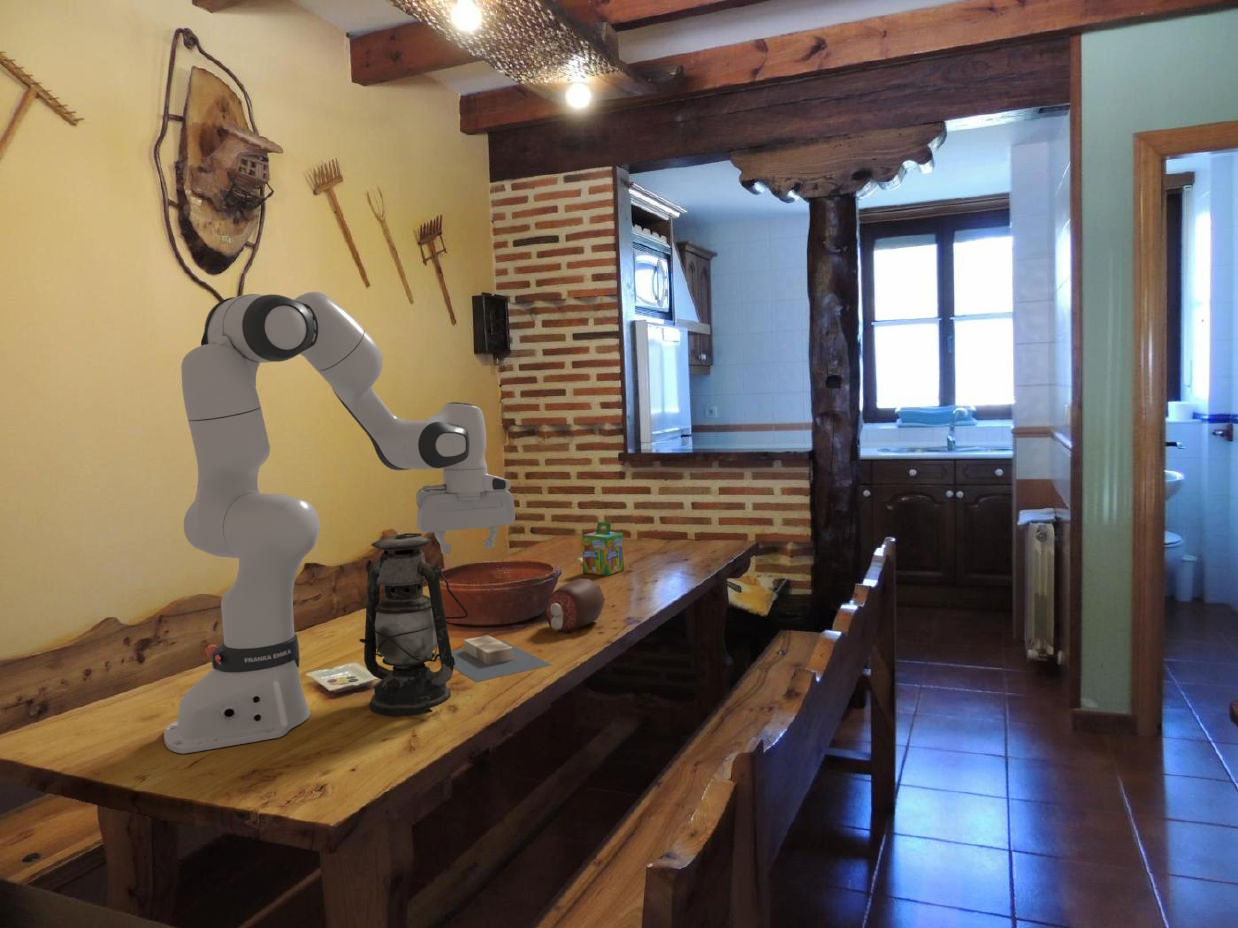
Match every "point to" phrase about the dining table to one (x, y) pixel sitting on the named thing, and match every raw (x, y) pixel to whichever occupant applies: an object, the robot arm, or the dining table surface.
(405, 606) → the lantern
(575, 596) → the meat
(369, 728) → the dining table surface
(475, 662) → the mat
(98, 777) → the dining table surface
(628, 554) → the dining table surface
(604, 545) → the chalk box
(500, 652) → the wooden block
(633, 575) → the dining table surface
